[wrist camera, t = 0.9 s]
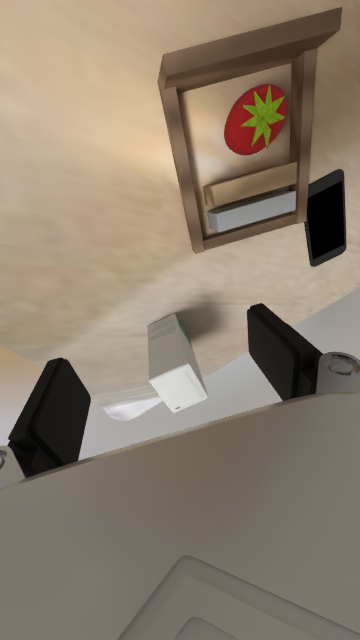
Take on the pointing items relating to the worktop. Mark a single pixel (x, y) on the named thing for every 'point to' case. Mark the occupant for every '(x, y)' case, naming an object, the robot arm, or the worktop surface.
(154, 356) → the skincare box
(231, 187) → the inner offcut board
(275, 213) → the outer offcut board
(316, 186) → the smartphone
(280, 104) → the strawberry
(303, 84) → the rack
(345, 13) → the worktop surface
